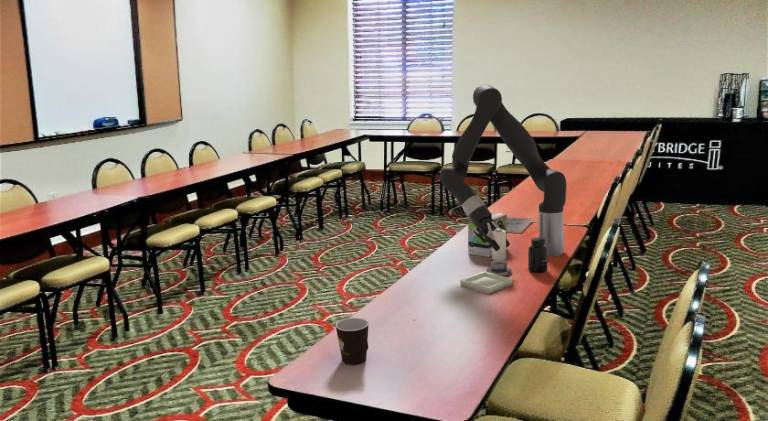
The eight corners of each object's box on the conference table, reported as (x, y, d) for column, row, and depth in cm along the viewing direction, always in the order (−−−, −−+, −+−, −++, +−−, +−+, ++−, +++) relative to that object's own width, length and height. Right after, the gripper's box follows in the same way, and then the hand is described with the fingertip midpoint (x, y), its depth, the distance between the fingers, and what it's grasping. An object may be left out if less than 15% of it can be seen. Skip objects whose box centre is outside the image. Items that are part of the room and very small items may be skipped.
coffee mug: (337, 354, 175) (335, 319, 173) (369, 351, 176) (367, 316, 174) (338, 373, 164) (335, 336, 162) (372, 371, 164) (370, 334, 162)
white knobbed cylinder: (498, 255, 238) (497, 226, 235) (509, 257, 234) (508, 228, 232) (489, 258, 235) (488, 229, 232) (500, 261, 231) (499, 231, 228)
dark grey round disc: (497, 267, 242) (496, 257, 241) (516, 272, 235) (516, 261, 234) (481, 273, 236) (481, 262, 235) (501, 278, 229) (500, 267, 228)
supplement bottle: (547, 274, 232) (548, 241, 229) (528, 273, 233) (528, 241, 231) (547, 268, 238) (547, 236, 236) (528, 267, 240) (528, 236, 237)
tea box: (489, 257, 254) (489, 221, 251) (467, 254, 260) (466, 218, 257) (507, 248, 266) (507, 213, 263) (485, 245, 272) (485, 210, 269)
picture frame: (497, 221, 314) (484, 231, 295) (497, 216, 314) (484, 226, 295) (532, 223, 307) (520, 234, 288) (532, 218, 307) (520, 229, 288)
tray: (484, 276, 232) (484, 271, 232) (512, 284, 223) (512, 278, 222) (460, 285, 224) (460, 280, 224) (489, 293, 215) (488, 288, 214)
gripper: (468, 208, 231) (496, 246, 225) (494, 201, 240) (521, 237, 234) (458, 220, 236) (484, 258, 230) (483, 213, 245) (509, 249, 239)
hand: (503, 247), depth 232 cm, fingers closed on white knobbed cylinder, 5 cm apart
